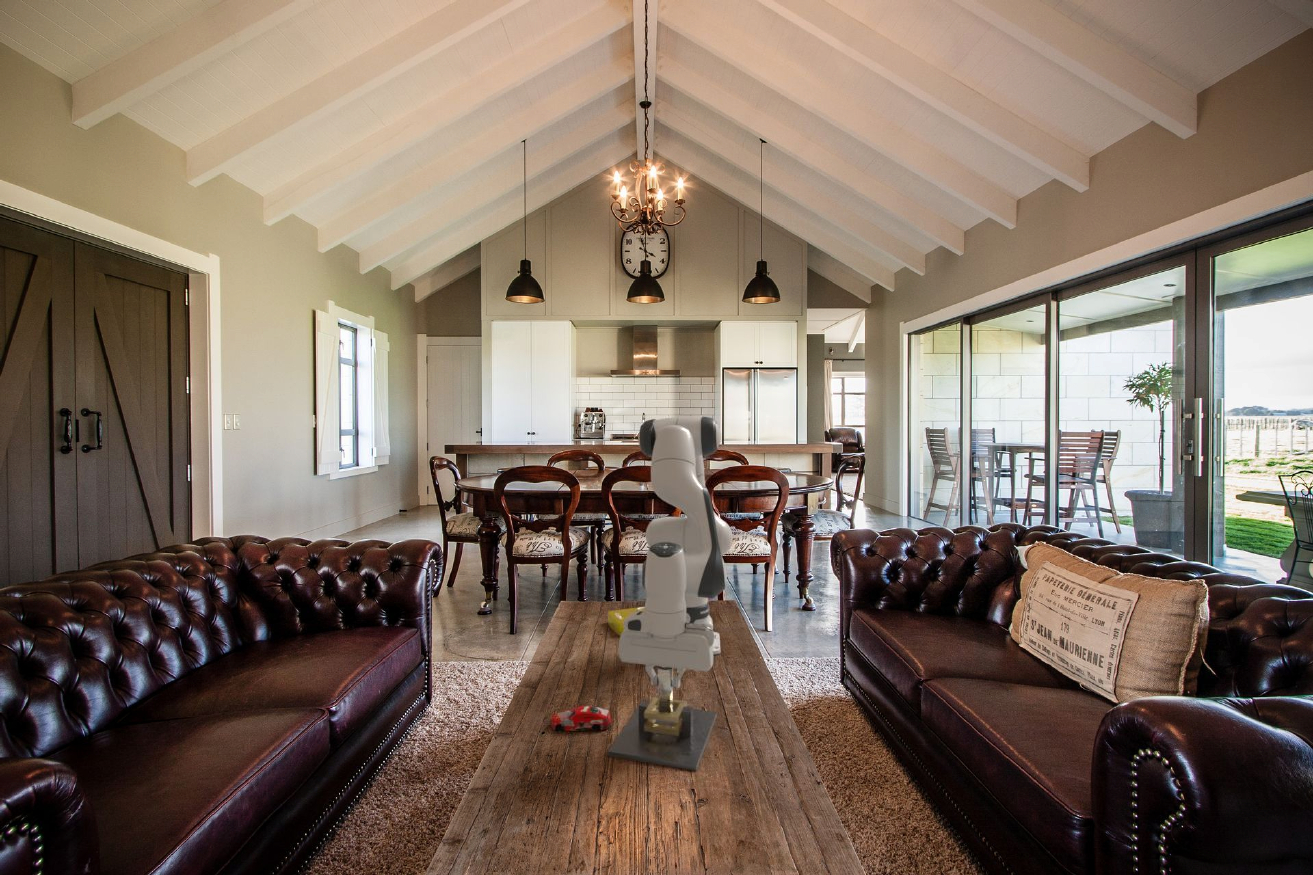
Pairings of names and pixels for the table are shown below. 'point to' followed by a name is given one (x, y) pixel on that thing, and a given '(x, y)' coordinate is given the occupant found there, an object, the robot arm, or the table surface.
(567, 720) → the race car
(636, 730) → the collar stand
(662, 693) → the metal tube
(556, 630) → the table surface
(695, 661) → the robot arm
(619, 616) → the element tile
